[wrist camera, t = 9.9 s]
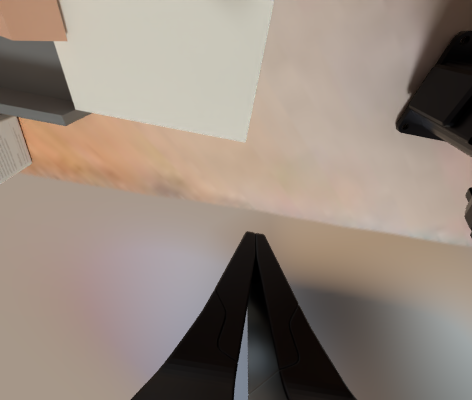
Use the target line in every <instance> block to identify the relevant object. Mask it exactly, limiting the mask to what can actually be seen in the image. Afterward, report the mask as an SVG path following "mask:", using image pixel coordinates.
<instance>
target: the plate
mask: <svg viewBox="0 0 472 400" xmlns="http://www.w3.org/2000/svg"><path fill="white" fill-rule="evenodd" d="M57 3H58V7H59V11H60V15H61V18H62V22H63V26H64V29H65V33H66V37H67V41H54V44H55V47H56V50H57V53H58V57H59V60H60V63H61V66H62V69H63V72H64V75H65V78H66V81H67V84H68V88H69V91H70V94H71V97H72V100H73V103H74V106H75V109H76V110H80V111H85V112H90V113H95V114H101V115H106V116H111V117H116V118H121V119H126V120H132V121H137V122H142V123H147V124H152V125H157V126H162V127H168V128H173V129H178V130H183V131H188V132H193V133H199V134H204V135H209V136H214V137H219V138H224V139H229V140H235V141H240V142H245V143H246V138H247V133H248V128H249V123H250V118H251V113H252V108H253V104H254V99H255V94H256V89H257V84H258V79H259V74H260V69H261V64H262V59H263V54H264V49H265V44H266V39H267V34H268V29H269V24H270V19H271V14H272V9H273V4H274V0H57Z"/></svg>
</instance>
